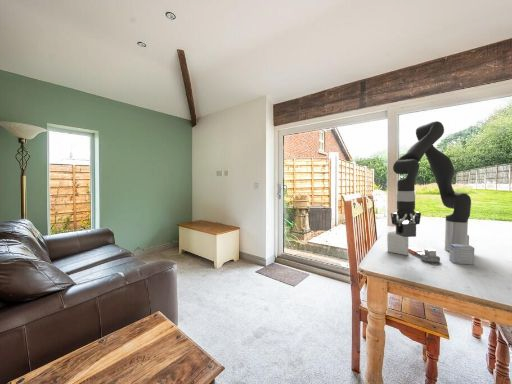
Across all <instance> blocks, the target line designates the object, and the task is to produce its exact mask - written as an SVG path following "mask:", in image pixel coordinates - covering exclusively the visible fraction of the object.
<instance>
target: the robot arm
mask: <svg viewBox="0 0 512 384" xmlns="http://www.w3.org/2000/svg"><path fill="white" fill-rule="evenodd" d="M444 133H445V127H444V124H443V123H442V122H440V121H432V122H429V123H427V124H423V125H421V126H418V127H417V128H416V130H415V135H416V136H415V137H416V139H417V142H415V143H414V144H413V145H411V146H410V148H409V149H408V150H407V152H406V153H405V154H404V155H402V156H400V157H399V158H398V159H397V160H396V161H395V162H394V163H393V166H392V169H393V172H394V173H395V174H396V175H407V176H406V177H405V178H401V179H398V180H397V188H396V189H397V191H396V192H397V193H396V210H397V211H396V212H390V217H391V224H392V225H394V226H395V231H397V233H399V234H401V223H403V222H404V221H409V222H412V223H416V226H417V225H420V224H421V223H420V222H421V218H422V217H421V216H422V212H419V211H415V210H416V194H415V193H416V192H415V191H416V190H415V183H416V180H417V179H416V178H417V176H418V173H419V170H420V163H419V162H420V161H421V159H422V158H423V156H424V155H425V156H426V159H427V161H428V164H429V166H430V169H431V172H432V174H433V176H434V179H435V181H436V182H435V183H436V185H437V187H438V191H439V195H440V198H441V202H442V204H443V206H444V207H445V208H448V209H453V212H452V213H451V214H447V215H446V216H445V225H444V228H445V230H444V231H445V232H444V250H445V251H447V252H450V244H460V245H470V235H469V234H468V231H469V230H468V226H469V223H468V222H469V218H470V217H471V207H472V199H471V196H470V195H469V194H468V193H465V192H455V191H454V188H453V186H452V181H453V178H454V176H455V167H454V165H453V162H452V160H451V158H450V157H449V156H448V155H446V154H445V153H443V152H442V151H440V150H438V149H437V148H436V147H435V146H434V144H436V142H437V141H439V139H441V138H442V137H443V135H444Z"/></svg>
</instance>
